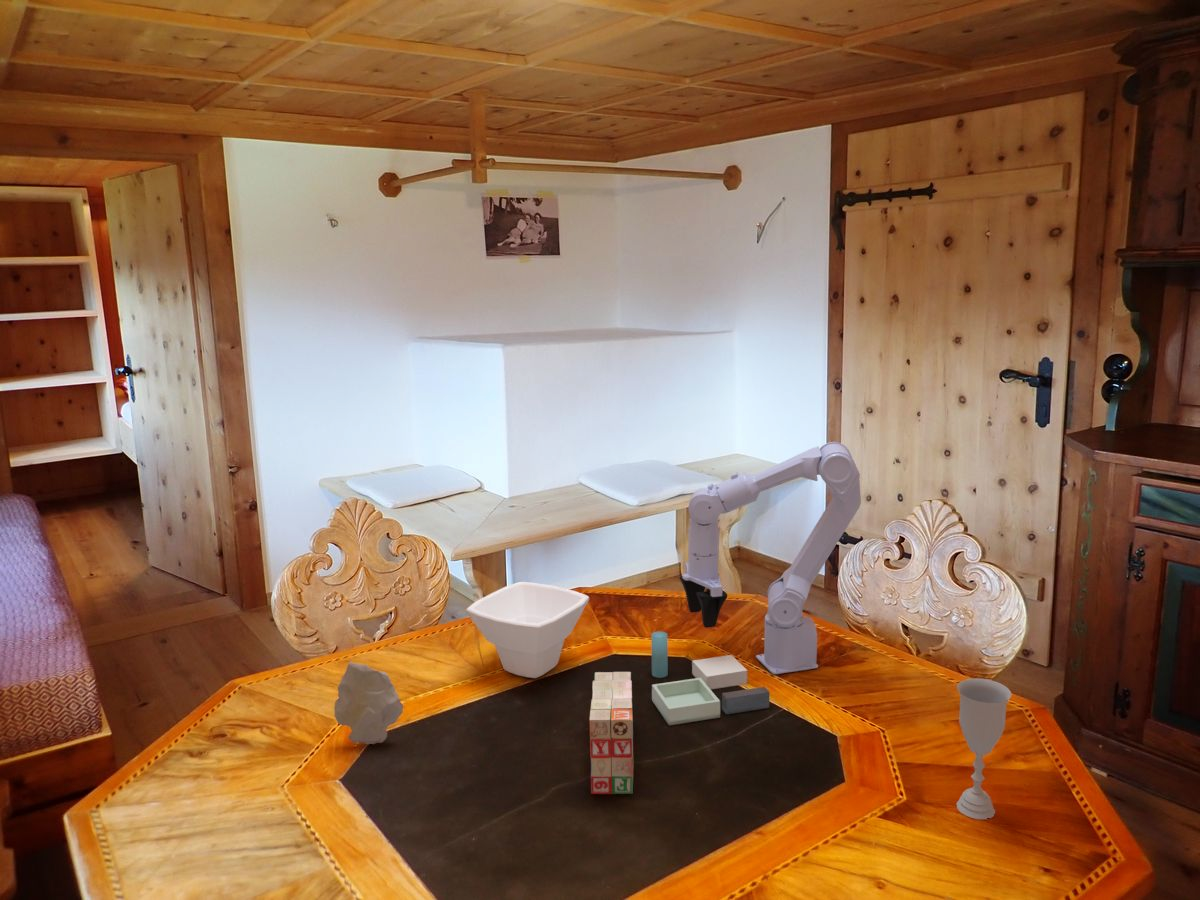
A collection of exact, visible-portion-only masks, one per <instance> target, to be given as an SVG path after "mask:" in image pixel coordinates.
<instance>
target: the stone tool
mask: <svg viewBox="0 0 1200 900" xmlns="http://www.w3.org/2000/svg"><path fill="white" fill-rule="evenodd" d="M336 689H337V693H338V694H337V696H338V698H337V699H336V700H335V702H334V706H333V707H334V708H333V709H334V716H333V717H335V720H336V722H337V724H339V725H340V726H348V727H349V728H350V729H351V732H350V733H349V735H348V739H349V741H351V743H358V744H365V745H368V746H369V744H373V745H375V744H377V743H378V744H382V743H384V742H385V741H386V739H387V737H388V732H387V729H388V728H389V726H391V725H394V724H395V723H396V722H398V719H399V718H400V717H401V715H402V714H403V712H404V711H403V710H404V704H402V702H401V699H400V697H399V694H398V692H397V691H396V688H395V686H394V684H393V683H392V680H391V678H390V676H389V675H388V674H387V672H385V671H380V670H375V669H373V668H372V667H369V666H368V665H367V664H365V663H364V664H358V663H355V662H353V661H349V663H348V664H347V666H346V670H345V672H344V673H343V675H342V677H341V679H340V682H339V684H338V686H337V688H336Z"/></svg>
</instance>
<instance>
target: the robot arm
mask: <svg viewBox="0 0 1200 900" xmlns="http://www.w3.org/2000/svg"><path fill="white" fill-rule="evenodd" d="M860 475H861V474H860V471H859V470H858V467H857V464H856V463H855V460H854V459H853V456H852V454H851V452H850V449H848V447H847V446H846V445H844V444H842V443H841V442H838V441H837V442H836V441H832V442H831V441H830V442H826V443H825V444H823V445H822V446H815V447H812V448H810V449H807V450H804V451H803V452H801V453H798V454H797V455H794V456H792V457H790V458H788V459H785V460H784V461H782V462H780V463H778V464H775V465H773V466H772V467H769V468H767V469H765V470H762V471H761V472H758V473H756V474H750V473H746V472H741V473H740V474H739V472H737V471H735V472H734V473H731V474H730V478H728V479H725V480H723V481H721V482H719V483H716V484H713V483H709V484H707V488H706V487H703V488H699V489H696V490H695V491H694V492H693V494H692V495H691V496H690V498H689V499H690V500H689V502H688V503H689V504H688V507H687V508H688V515H689V517H690V518H689V523H688V524H689V528H688V554H687V555H688V557H687V561H686V562H685V563H684V572H685V573H683V574H682V575H680V576H679V580H680V582H681V585H682V586H683V589H684V592H685V596H686V601H687V605H688V609H689V610H688V611H689V612H690V613H699V612H701V619H702V624H703V627H704V628H706V629H707V628H715V627H716V625H717V621H718V618H719V614H720V611H721V609H722V606H723V605H724V603H725V601H726V600H727V599H728V593H727V592H726V591H724V590H723V585H722V584H721V579H720V573H719V557H720V556H719V549H720V548H719V547H720V544H719V543H720V527H719V525H718V524H719V518H720V515H722V514H727V513H730V512H732V511H735V510H737V509H740V508H743V507H745V506H747V505H749V504H751V503H755V502H757V500H758V499H759V495H760V493H761V492H764V491H767V490H769V489H772V488H775V487H777V486H780V485H783V484H785V483H788V482H791V481H793V480H796V479H800V478H803V479H808V480H811V481H815V482H818V476H820V477H821V479H822V480H823V482H824V484H825V485H827V487H828V489H829V492H830V495H831V500H830V501H829V502H828V504H827V506H826V508H825V510H824V511H823V512H822V514H821V516H820V518H819V519H818V521H817V523H816V524H815V525H814V527H813V529H812V530H811V532H810V534H809V535H808V537H807V538H806V540H805V542H804V544H803V545H802V547H801V548H800V551H799V552H798V554H797V555H796V557H795V558H794V560H793V562H792V563H791V565H790V566H789V568H787V569H786V570H785V571H784V572H783V574H782V575H781V577H779V578H778V579H777V580H775V581H773V582H772V583H771V584H770V585H769V586H768V589H767V592H766V593H767V594H766V596H767V600H768V601H767V602H768V606H767V613H766V614H765V616H764V651H763V652H764V653H762V654H756V656H755V658H756V659H757V660H758V661H759V662H760V663H761V664H762V665H763V666H764V667H765V668H766V669H767V670H768V671H769V672H770V673H771V674H773V675H780V674H786V673H793V672H799V671H808V670H813V669H818V668H819V665H818V664H817V660H818V659H817V657H818V656H817V655H818V653H817V652H818V651H817V650H818V631H817V627H816V625H815V622H814V620H813V619H812V618H811V617H809V616H803V607H804V605H805V602H806V601H807V599H808V596H809V593H810V589H811V587H812V585H813V583H814V581H815V580H816V578H817V576H818V575H819V573H820V571H821V570H822V568H823V567H824V565H825V563H826V562H827V560H828V558H829V557H830V556H831V553H832V552H833V550H834V549H835V547H836V545H837V544H838V543H839V541H840V539H841V538H842V536H843V534H844V533H845V531H846V530H847V528H848V526H849V525H850V524H851V522H852V520H853V518H854V517H855V515H856V514H857V512H858V510H860V508H861V503H862V501H861V500H862V497H861V484H860V483H861V482H860V478H861V476H860ZM705 590H706V591H705Z"/></svg>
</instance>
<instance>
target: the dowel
mask: <svg viewBox="0 0 1200 900" xmlns="http://www.w3.org/2000/svg"><path fill="white" fill-rule="evenodd" d="M668 650H669V649H668V633H667V632H665V631H661V630H660V631H658V630H657V631H654V632H652V633H651V676H652V677H654V678H656V679H663V678H665V677H668V674H669V673H668V671H669V670H668V663H669V661H668Z"/></svg>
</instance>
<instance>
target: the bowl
mask: <svg viewBox="0 0 1200 900" xmlns="http://www.w3.org/2000/svg"><path fill="white" fill-rule="evenodd" d="M589 601H590V597H589V596H588V595H587V594H584V593H581V592H579V591H576V590H572V589H569V588H568V589H567V588H564V587H561V586H556V585H550V584H545V583H538V582H530V581H529V582H527V581H519V582H516V583H511V584H509V585H506V586H504V587H501V588H500V589H497V590H496V591H493V592H491V593H490V594H487V595H486V596H484V597H482V598H480V599H477V600H475V601H474V602H473V603H471V605H469V606H468V607H467V608H466V610H465V611H466V614H467V615H468V616H469V617H470V619H471V621H472V622H473V623H474V624H475V626H476V627H477V629H478V630H479V632H480V633H481V634H482V635H483V637H484V638H485V640H486V641H487V642H489V643H490V644H492V645H494V647H495V650H496V653H497V655H498V658H499V659H500V662H501V665H502V667H503V669H504V671H507V672H508V673H511V674H514V675H516V676H519V677H524V678H531V679H537V678H539V677H541V676H544V675H545V674H546V673H548V672H550V671H551V670H552V669H554V668H555V667H556V666H557V665H558V663H559V662H560V657H561V653H562V650H563V647H564V642H565V639H566V638H568V637H569V635H571V633H572V632H573V631H574V628H575V626H576V625H577V622H578V621H579V619H580V617H581V616H582V614H583V611H584V610H585V608H586V606H587V604H588V602H589Z"/></svg>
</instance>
